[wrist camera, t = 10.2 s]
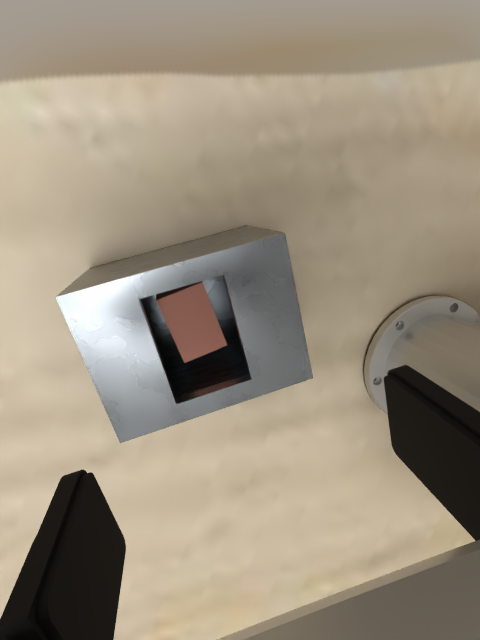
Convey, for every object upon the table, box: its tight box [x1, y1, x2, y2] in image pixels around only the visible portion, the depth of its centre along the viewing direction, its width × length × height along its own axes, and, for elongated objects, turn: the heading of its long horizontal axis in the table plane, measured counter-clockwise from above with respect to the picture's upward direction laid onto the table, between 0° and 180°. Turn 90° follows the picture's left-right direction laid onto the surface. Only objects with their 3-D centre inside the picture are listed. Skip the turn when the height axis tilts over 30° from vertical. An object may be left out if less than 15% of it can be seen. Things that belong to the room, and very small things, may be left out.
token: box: [156, 281, 227, 363], centre depth 25 cm, size 3×4×6 cm, turn 19°
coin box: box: [56, 226, 313, 443], centre depth 24 cm, size 12×9×9 cm
